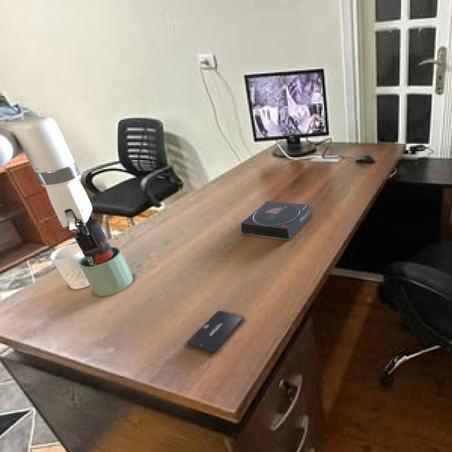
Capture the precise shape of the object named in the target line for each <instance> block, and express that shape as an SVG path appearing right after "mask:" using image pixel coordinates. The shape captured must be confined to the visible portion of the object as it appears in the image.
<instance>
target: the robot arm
mask: <svg viewBox="0 0 452 452" xmlns="http://www.w3.org/2000/svg"><path fill="white" fill-rule="evenodd" d="M23 154H24V155H25V157H26V158H27V160H28V162H29V164H30V166H31V168H32V170H33V171H34V174H35V176H36V177H37V180H38V181H39V183H40V184H41V187H42V188H45V189H46V193H47V195H48V199H49V201H50V203H51V206H52V208H53V210H54V212H55V215H56V216H57V219H58V221H59V223H60V225H61V226H62V227H63V229H67V228H69V231H70V232H71V233H72V232H73V234H74V235H75V237H76V239H77V240H78V242H79V244H80V246H81V248H82V250H83V251H87V250H91V249H95V248H97V247H98V245H97V243H96V240H95V238H94V236H93V234H92V233H90V232H89V229H88V227H87V224H86V222H87V221H88V219H96V218H95V216H94V215H93V213H92V212H93V205H92V203H91V201H90V198H89V196H88V194H87V192H86V191H85V189H84V187H83V185H82V183H81V181H80V179H81V178H82V175H81V172H80V170H79V168H78V165H77V164H76V162H75V160H74V158H73V155H72V153H71V152H70V149H69V148H68V145H67V143H66V140H65V139H64V136H63V134H62V133H61V130H60V128H59V126H58V124H57V122H56V120H54V119H53V118H52V117H49V116H36V117H30V118H24V119H19V120H15V121H0V168H2V167H4V166H6V165H7V164H9V163H10V162H11V161H12V160H13V159H14V158H16V157H18V156H20V155H23ZM80 221H82V222H81V223H77V222H80ZM80 225H83V228H84V229H83V228H79V227H78V226H80ZM73 234H72V235H73ZM76 239H75V240H76Z"/></svg>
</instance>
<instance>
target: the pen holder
mask: <svg viewBox="0 0 452 452" xmlns="http://www.w3.org/2000/svg"><path fill="white" fill-rule="evenodd" d="M110 247H111V249H112V251H113V253H114V255H115V257H114V258H113V259H111V260H109V261H107V262H105V263H103V264H100V265H96V266H89V264H88V262H87V260H86V258H85V256H84V257H83V258H82V259H81V260H80V262H79V265H80V267H81V269H82V271H83V273H84V275H85V277H86V279H87V280H88V282H89V284H90V285H89V286H90V288H91V290H92V291H93V293H94V294H95V295H96V296H100V297H106V296H110V295H114V294H117V293H119V292H121V291H123V290H125V289H126V288H128V287H129V286H130V285H131V284H132V282H133V281H134V276H133V273H132V271H131V269H130V267H129V265H128V262H127V261H126V258H125V256H124V254H123V251H122V250H121V248H120V247H117V246H110Z"/></svg>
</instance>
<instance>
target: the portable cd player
mask: <svg viewBox="0 0 452 452" xmlns="http://www.w3.org/2000/svg"><path fill="white" fill-rule="evenodd" d="M311 216H312V211H311V204H306V203H305V204H304V203H294V202H283V201H282V202H281V201H274V200H273V201H272V200H271V201H270V200H267V201H266V202H264V203H263V204H262V205H261V206H259V207H258V208H257V209H256V210H255V211H254V212H252V214H250V215H249V216H248V217H246V218H245V219H244V220H243V221H241V223H240V232H242V234H243V235H244V236H246V235H247V236H253V237H261V238H269V239H276V240H282V241H290V240H291V239H292V238H293V237H294V236H295V234H296V233H297V232H298V231H299V230H300V229H301V228H302V227H303V226H304V224H305V223H306V222H307V221H308V220H309V219H310V217H311Z"/></svg>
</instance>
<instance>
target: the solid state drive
mask: <svg viewBox="0 0 452 452" xmlns="http://www.w3.org/2000/svg"><path fill="white" fill-rule="evenodd" d="M243 321H244V318H243V317H242V316H239V315H235V314H232V313H229V312H225V311H222V310H217V312H216V313H214V314H213V316H211V318H209V319H208V321H207V322H206V323H204V324H203V326H201V328H200V329H199V330H198V331H196V333H194V334H193V335H192V337H190V339H188V341H187V343H186V344H187V345H188V346H190V347H193V348H196V349H198V350H201V351H204V352H206V353H209V354H211V355H213V354H215V353H216V352H217V350H219V348H220V347H221V346H223V344H224V343H225V341H226V340H227V339H228V338H229V337H230V336H231V335H232V333H233V332H234V331H235V330H236V329H237V328H238V327H239V326H240V325H241V324H242V322H243Z"/></svg>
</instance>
